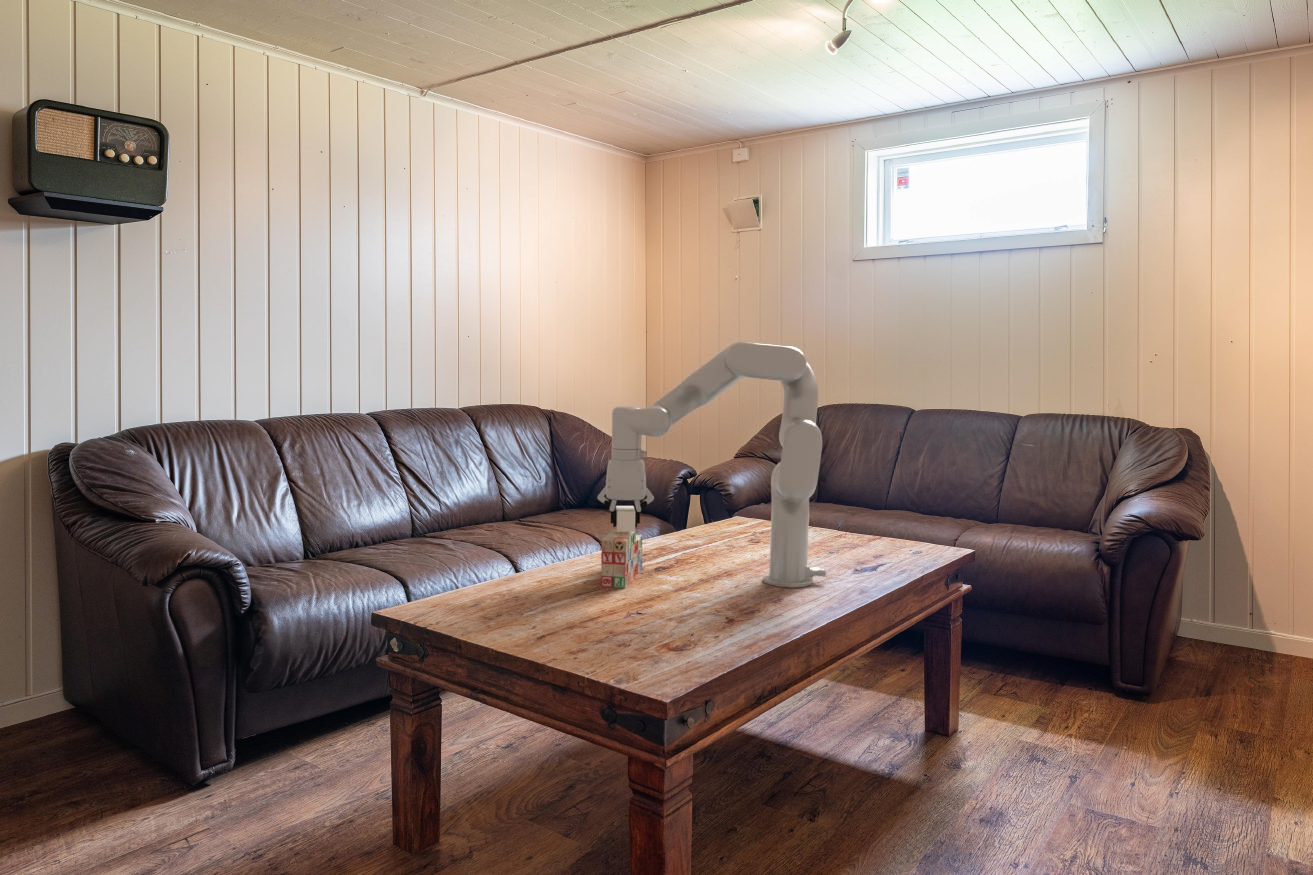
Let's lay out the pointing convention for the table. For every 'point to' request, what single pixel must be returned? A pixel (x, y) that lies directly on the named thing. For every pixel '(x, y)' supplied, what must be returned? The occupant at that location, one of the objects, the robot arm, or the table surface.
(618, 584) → the stack of blocks
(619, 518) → the cream bar block
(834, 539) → the table surface
